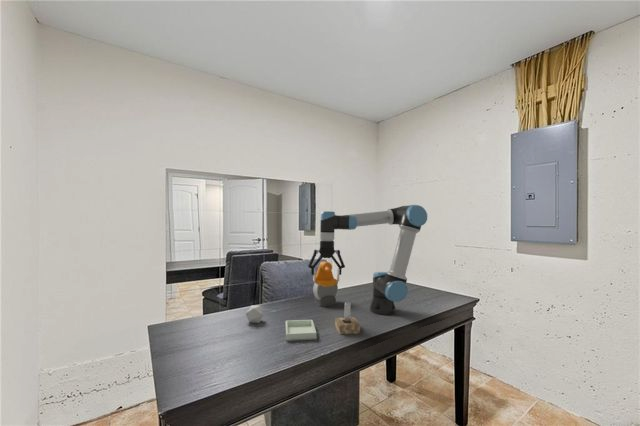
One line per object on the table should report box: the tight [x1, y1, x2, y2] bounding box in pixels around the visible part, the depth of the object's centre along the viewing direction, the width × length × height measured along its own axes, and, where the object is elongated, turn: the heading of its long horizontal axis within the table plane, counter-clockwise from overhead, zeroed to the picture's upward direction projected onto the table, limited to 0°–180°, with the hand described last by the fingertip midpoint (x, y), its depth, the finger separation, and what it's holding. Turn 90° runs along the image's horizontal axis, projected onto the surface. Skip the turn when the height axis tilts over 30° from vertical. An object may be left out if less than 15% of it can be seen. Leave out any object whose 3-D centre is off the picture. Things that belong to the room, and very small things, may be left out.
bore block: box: [334, 316, 361, 335], centre depth 136 cm, size 10×10×4 cm
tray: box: [284, 319, 318, 342], centre depth 131 cm, size 14×16×3 cm
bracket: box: [313, 260, 339, 287], centre depth 145 cm, size 11×7×12 cm, turn 117°
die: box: [245, 305, 265, 324], centre depth 144 cm, size 8×9×10 cm
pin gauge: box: [343, 301, 352, 323], centre depth 136 cm, size 3×3×13 cm
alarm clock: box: [312, 283, 339, 307], centre depth 177 cm, size 16×10×18 cm, turn 122°
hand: (326, 281), depth 145 cm, fingers closed on bracket, 12 cm apart
